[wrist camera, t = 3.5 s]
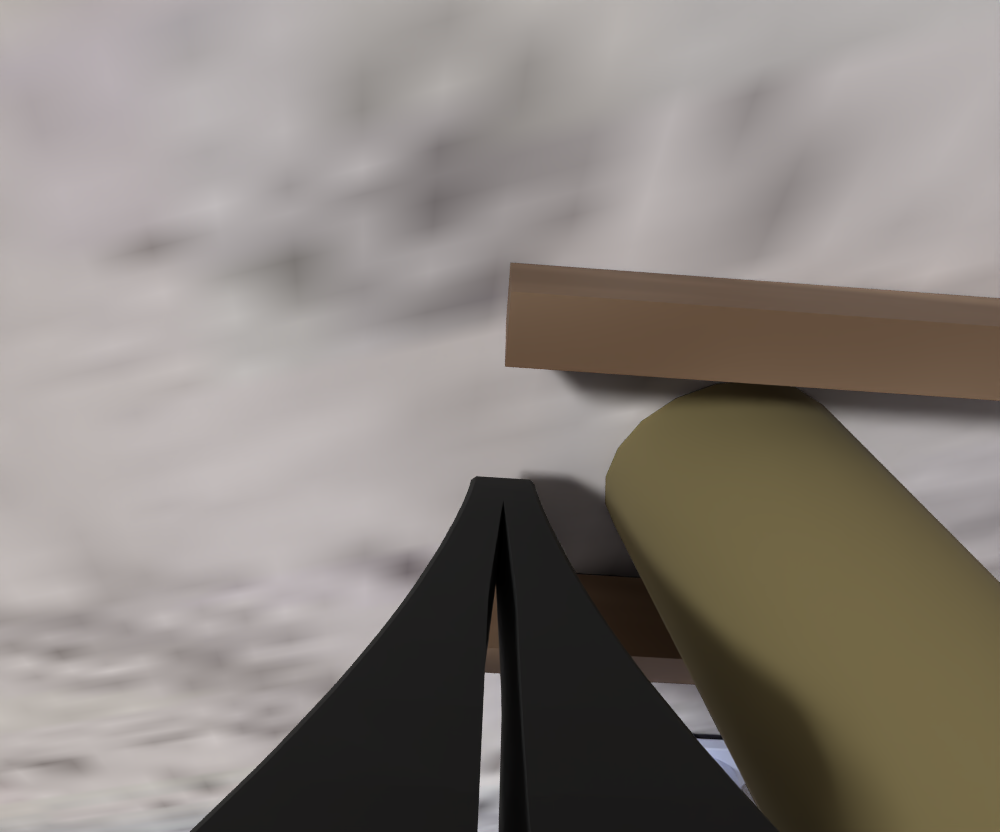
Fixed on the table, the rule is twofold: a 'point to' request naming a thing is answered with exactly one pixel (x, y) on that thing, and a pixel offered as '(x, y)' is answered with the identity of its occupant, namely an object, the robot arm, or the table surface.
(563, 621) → the robot arm
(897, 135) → the table surface
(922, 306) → the guide channel
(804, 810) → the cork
